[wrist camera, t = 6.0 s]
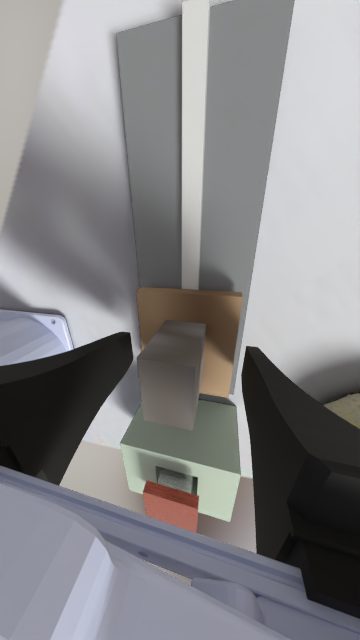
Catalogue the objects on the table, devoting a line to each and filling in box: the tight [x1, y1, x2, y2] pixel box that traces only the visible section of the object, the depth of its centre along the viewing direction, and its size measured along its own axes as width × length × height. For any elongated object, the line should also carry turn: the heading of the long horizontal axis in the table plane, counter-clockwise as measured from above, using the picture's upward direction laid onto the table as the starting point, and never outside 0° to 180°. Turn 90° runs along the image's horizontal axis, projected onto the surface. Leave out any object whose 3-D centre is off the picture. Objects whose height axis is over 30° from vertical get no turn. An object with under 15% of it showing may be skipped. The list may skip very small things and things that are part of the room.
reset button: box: [143, 468, 199, 533], centre depth 12 cm, size 3×3×2 cm
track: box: [116, 0, 295, 395], centre depth 11 cm, size 7×19×1 cm, turn 0°
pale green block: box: [120, 399, 241, 522], centre depth 15 cm, size 8×6×5 cm
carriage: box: [136, 287, 243, 431], centre depth 10 cm, size 6×7×5 cm
